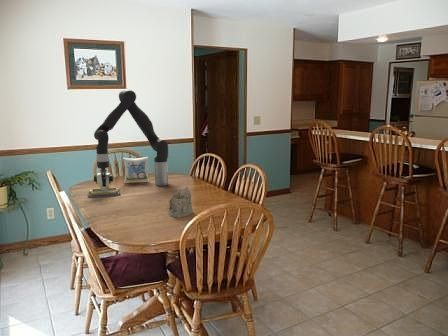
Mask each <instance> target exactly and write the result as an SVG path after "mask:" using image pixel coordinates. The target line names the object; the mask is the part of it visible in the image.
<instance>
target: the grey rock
mask: <svg viewBox="0 0 448 336" xmlns="http://www.w3.org/2000/svg"><path fill="white" fill-rule="evenodd" d="M168 203H169V204H168V209H167V213H168V216H169V217H174V218H182V217H187V216H190V215H191V214H193V213H194V210H193V202H192V194H191V192H190V190H189V186H188V185H187V186H185V187H184V189H181V188H179V187H178V188H177V192H176V193H174V194H173V196H172V197H171V198H170V199H169V200H168Z"/></svg>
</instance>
